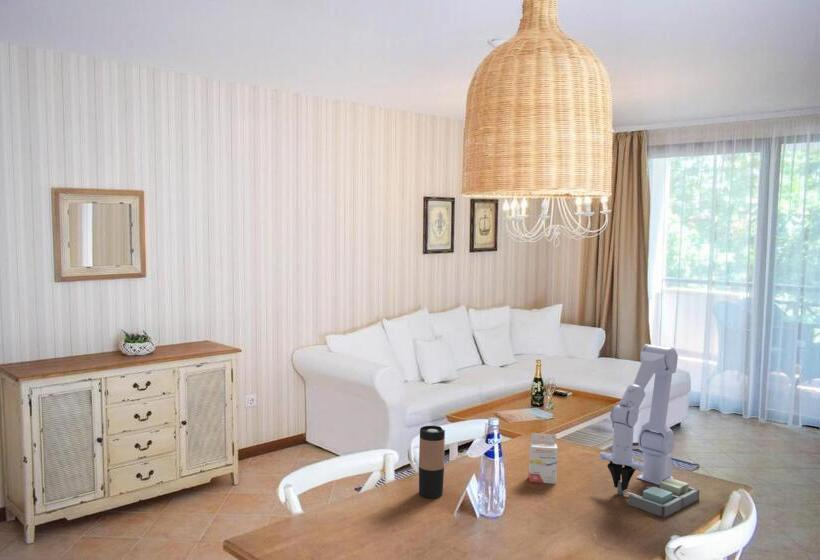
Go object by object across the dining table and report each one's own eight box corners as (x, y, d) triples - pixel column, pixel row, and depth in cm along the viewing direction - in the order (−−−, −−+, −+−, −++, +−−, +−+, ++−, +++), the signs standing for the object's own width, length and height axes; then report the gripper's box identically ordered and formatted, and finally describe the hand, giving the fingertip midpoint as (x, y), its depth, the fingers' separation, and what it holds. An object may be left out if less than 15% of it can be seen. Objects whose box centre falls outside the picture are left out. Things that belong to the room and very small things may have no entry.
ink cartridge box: (529, 482, 212) (531, 437, 211) (528, 476, 217) (529, 432, 216) (556, 484, 211) (558, 438, 210) (554, 478, 216) (556, 434, 215)
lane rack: (664, 488, 210) (664, 478, 209) (698, 499, 201) (699, 489, 201) (628, 504, 196) (628, 494, 196) (664, 517, 188) (664, 507, 187)
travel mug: (414, 496, 199) (415, 430, 197) (423, 487, 206) (425, 424, 205) (438, 500, 196) (440, 434, 195) (446, 491, 203) (448, 427, 202)
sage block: (669, 493, 206) (669, 477, 205) (687, 499, 201) (688, 483, 201) (659, 498, 202) (660, 482, 201) (678, 504, 197) (679, 488, 197)
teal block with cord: (622, 490, 207) (623, 476, 206) (671, 507, 195) (672, 492, 194) (612, 495, 203) (612, 481, 203) (661, 512, 191) (662, 497, 190)
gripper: (594, 441, 206) (592, 483, 207) (637, 453, 195) (635, 498, 196) (607, 436, 210) (605, 478, 211) (649, 448, 199) (647, 492, 200)
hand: (620, 487), depth 204 cm, fingers closed on teal block with cord, 2 cm apart
